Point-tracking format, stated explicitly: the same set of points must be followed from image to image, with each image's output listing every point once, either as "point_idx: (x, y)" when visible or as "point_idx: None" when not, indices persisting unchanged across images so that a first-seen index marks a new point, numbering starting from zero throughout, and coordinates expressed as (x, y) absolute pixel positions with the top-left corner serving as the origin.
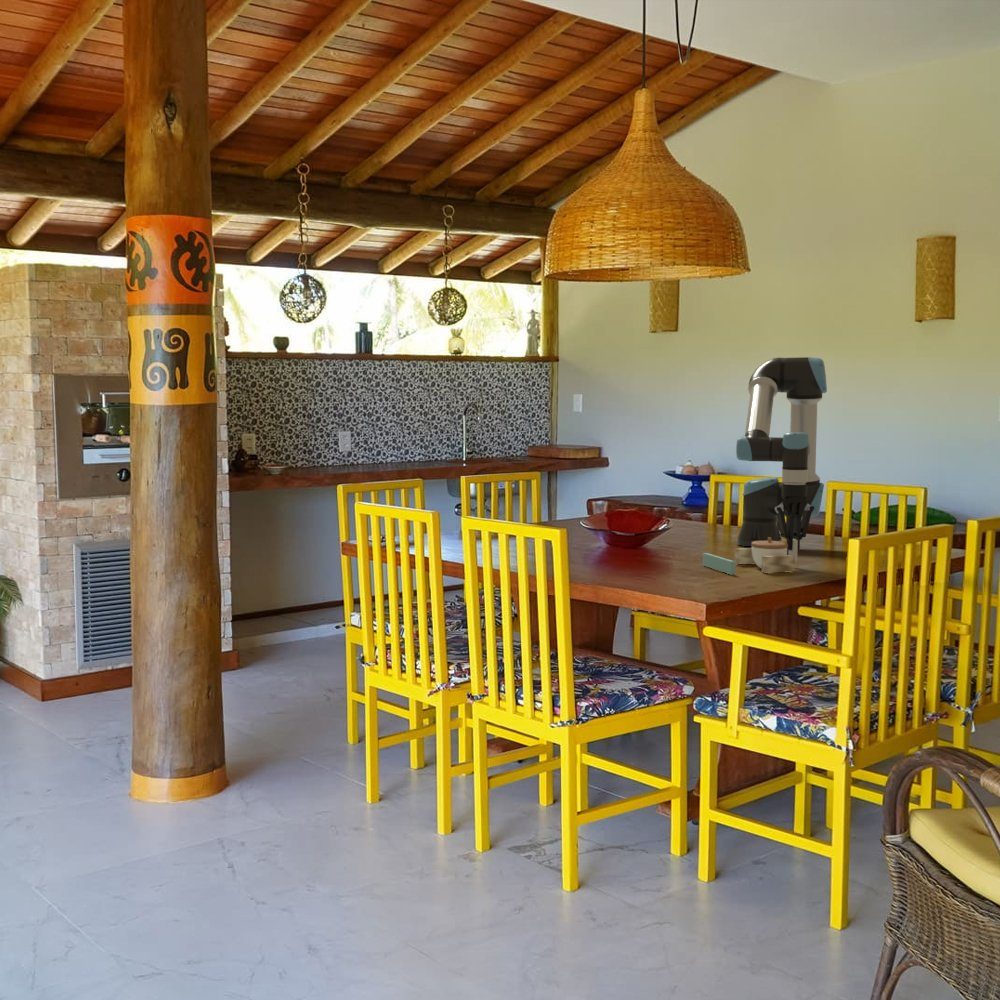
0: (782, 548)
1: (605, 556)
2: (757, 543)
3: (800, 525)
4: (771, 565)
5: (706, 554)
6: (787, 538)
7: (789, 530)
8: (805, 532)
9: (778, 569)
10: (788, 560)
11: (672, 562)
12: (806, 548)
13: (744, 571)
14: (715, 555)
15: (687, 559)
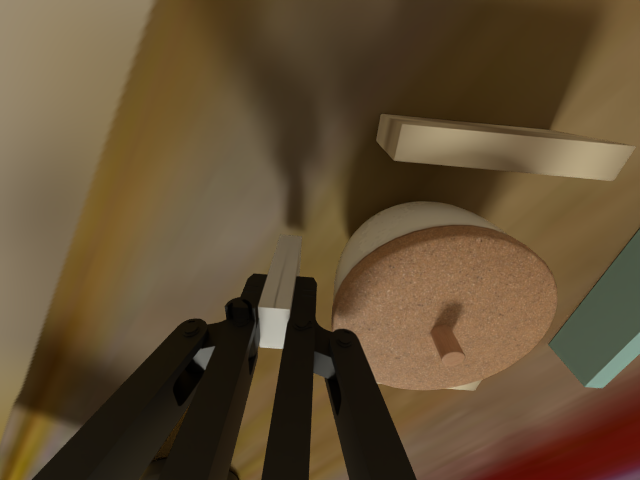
0: (433, 228)
1: (602, 476)
2: (537, 327)
3: (192, 415)
4: (538, 132)
5: (622, 367)
6: (327, 331)
7: (312, 383)
8: (170, 347)
9: (479, 124)
10: (438, 124)
11: (565, 404)
12: None
13: (557, 218)
14: (631, 340)
15: (485, 420)
